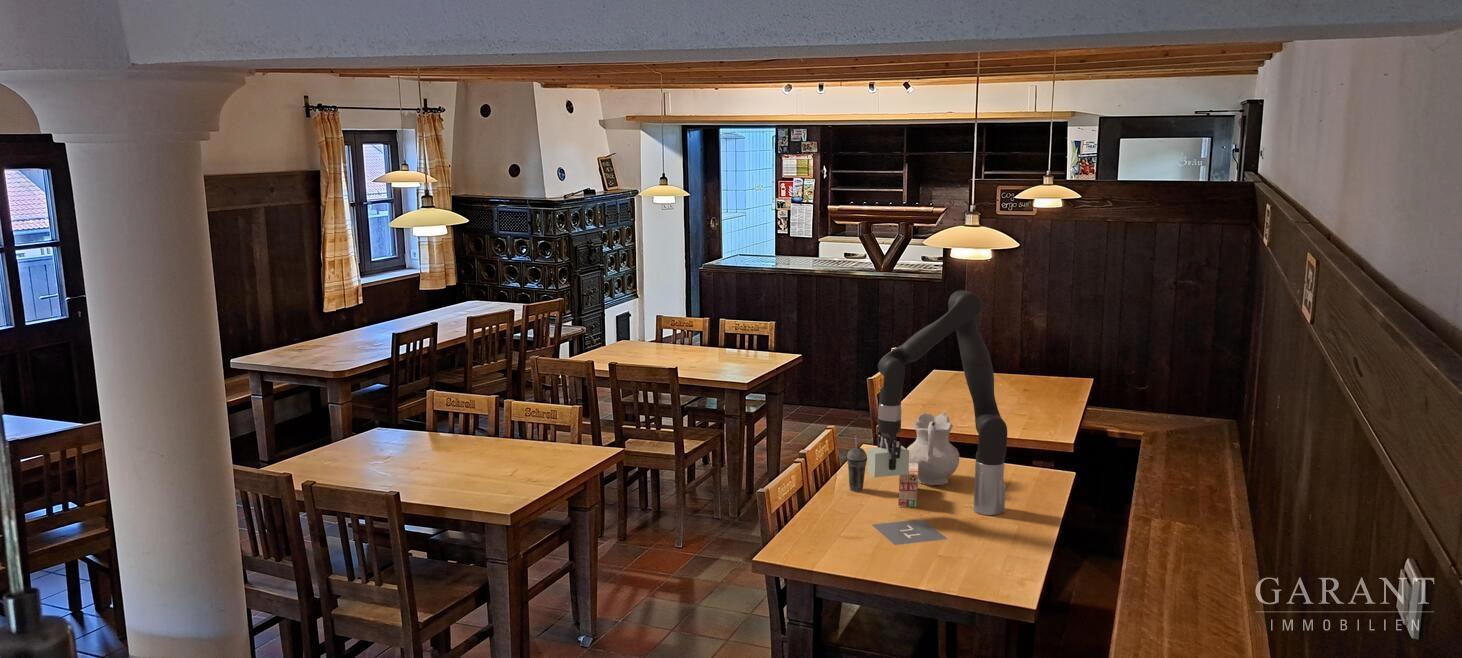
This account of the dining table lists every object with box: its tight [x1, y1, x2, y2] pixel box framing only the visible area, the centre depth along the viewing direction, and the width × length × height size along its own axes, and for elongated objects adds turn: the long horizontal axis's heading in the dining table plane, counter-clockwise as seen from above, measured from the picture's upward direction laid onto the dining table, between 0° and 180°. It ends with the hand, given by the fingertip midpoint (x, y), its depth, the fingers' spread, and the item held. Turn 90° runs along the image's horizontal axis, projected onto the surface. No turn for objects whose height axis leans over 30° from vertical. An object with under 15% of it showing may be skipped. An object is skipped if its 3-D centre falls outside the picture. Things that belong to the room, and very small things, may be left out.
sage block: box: [866, 445, 909, 478], centre depth 344 cm, size 6×12×8 cm, turn 106°
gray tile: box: [871, 518, 948, 546], centre depth 331 cm, size 18×18×1 cm
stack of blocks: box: [897, 463, 919, 508], centre depth 363 cm, size 21×6×12 cm, turn 170°
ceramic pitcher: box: [906, 411, 960, 486], centre depth 379 cm, size 22×20×25 cm
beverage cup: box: [846, 435, 868, 493], centre depth 370 cm, size 7×7×20 cm
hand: (888, 466), depth 344 cm, fingers closed on sage block, 6 cm apart
